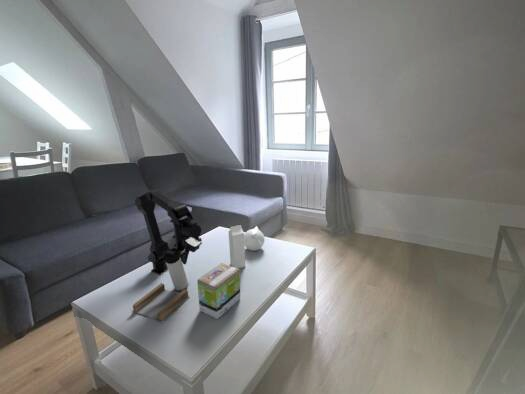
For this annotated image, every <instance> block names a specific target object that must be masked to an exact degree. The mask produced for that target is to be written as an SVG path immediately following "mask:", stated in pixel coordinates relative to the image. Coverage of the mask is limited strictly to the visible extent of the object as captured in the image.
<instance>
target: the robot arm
mask: <svg viewBox="0 0 525 394" xmlns="http://www.w3.org/2000/svg"><path fill="white" fill-rule="evenodd" d="M134 204H135V206H136V207H137V211H139V212H140V213H141V214H142V215H143V219H144V222H145V226H146V227H147V232H148V234H149V238H150V241H151V242H150V247H149V251H150V253H149V254H148V256H147V259H148V262H150V263H152V268H153V269H151V271H150V272H152V273H155V274H160V275H161V274H163V273H164V272H166V271H167V270H168V268H167V265H166V262H165V259H164V254H165V255H167V256H169V257H175V256H176V255H177V253H178V252H179V256H180V258H181V261H182V264H183V265H186V264H187V263H188V257H189V254H190V252H191V253H196V251H197V250H199V249H200V247H201V245H202V244H203V242H202V241H203V240H202V236H200V235H201V234H202V228H201V226H200V225H198V223H197V222H196V221H193V220H194V217H193V214H192V213H191V211H190V209H189V208H188V206H187V205H186V204H184V203H182V202H180V201H179V202H177V201H173V200H171V199H170V198H168V197H167V196H166V195H164V194H163V193H161V192H160V191H159V190H157V189H154V190H153V189H152V190H149V191H147V192H146V193H144V194H143V195H139V196H136V198H135V200H134ZM156 205H158V206H159V207H161V209H163V210H165V211H166V214H167V217H169V218H170V220H169V222H170V223H172V225H173V233H174V234H173V235H172V238H173V239H174V241H175V243H174V244H173V248H177V250H178V251H177V250H169V249H170V248H169V244H168V242H167V241H165V240H163V238H162V235H161V234H162V233H161V232H160V227H159V225H158V222H157V217H156V214H155V212H154V211H155V210H156V209H155V208H156Z"/></svg>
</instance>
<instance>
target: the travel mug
mask: <svg viewBox="0 0 525 394" xmlns="http://www.w3.org/2000/svg"><path fill="white" fill-rule="evenodd" d="M169 250H177V247H173V248H169ZM177 251H178V250H177ZM164 259H165V262H166V265H167V268H168V269H167V270H168V273H169V276H170V279H171V281H172V284H173V287H174V290H175V291H177V292H182V291H183V290H187V288H188V287H189V281H188V278H187V274H186V271H185V268H184V264H183V263H182V261H181V258H180V256H179V252H178V253H177V255H176V256H175V257H169V256H167V255H165V254H164Z"/></svg>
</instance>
